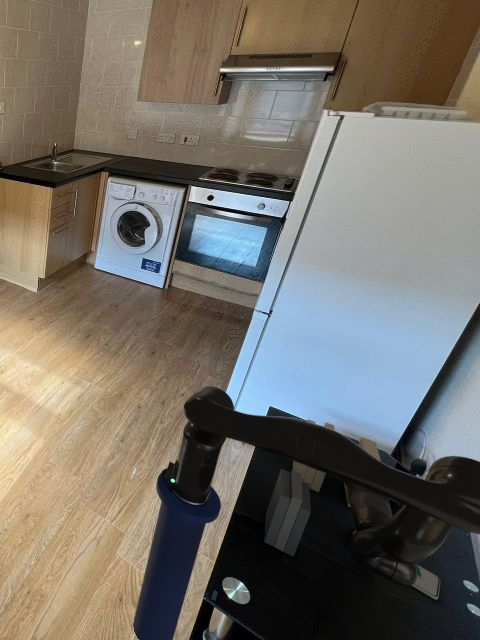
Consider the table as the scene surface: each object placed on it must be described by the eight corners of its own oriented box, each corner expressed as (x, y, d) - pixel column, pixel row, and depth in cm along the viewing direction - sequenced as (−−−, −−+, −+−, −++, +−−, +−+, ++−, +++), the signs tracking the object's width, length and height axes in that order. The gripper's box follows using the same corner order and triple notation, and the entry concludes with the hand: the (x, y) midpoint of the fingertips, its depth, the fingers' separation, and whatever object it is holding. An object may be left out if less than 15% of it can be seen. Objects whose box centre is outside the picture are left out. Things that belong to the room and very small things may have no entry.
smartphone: (438, 599, 89) (349, 545, 100) (437, 602, 89) (348, 548, 100) (441, 577, 93) (355, 528, 104) (439, 580, 94) (354, 531, 105)
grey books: (264, 542, 101) (281, 491, 96) (265, 513, 109) (282, 465, 104) (293, 556, 98) (313, 505, 93) (293, 526, 106) (311, 477, 100)
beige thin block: (347, 506, 112) (366, 460, 107) (343, 480, 120) (361, 437, 115) (362, 512, 110) (382, 466, 105) (357, 485, 118) (375, 442, 113)
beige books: (293, 481, 119) (309, 435, 114) (292, 460, 127) (308, 416, 122) (318, 492, 116) (337, 445, 111) (316, 470, 123) (334, 425, 118)
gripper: (416, 511, 96) (401, 466, 109) (337, 479, 105) (332, 441, 118) (404, 534, 99) (391, 487, 112) (328, 501, 107) (324, 461, 120)
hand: (360, 464), depth 115 cm, fingers open, 4 cm apart
